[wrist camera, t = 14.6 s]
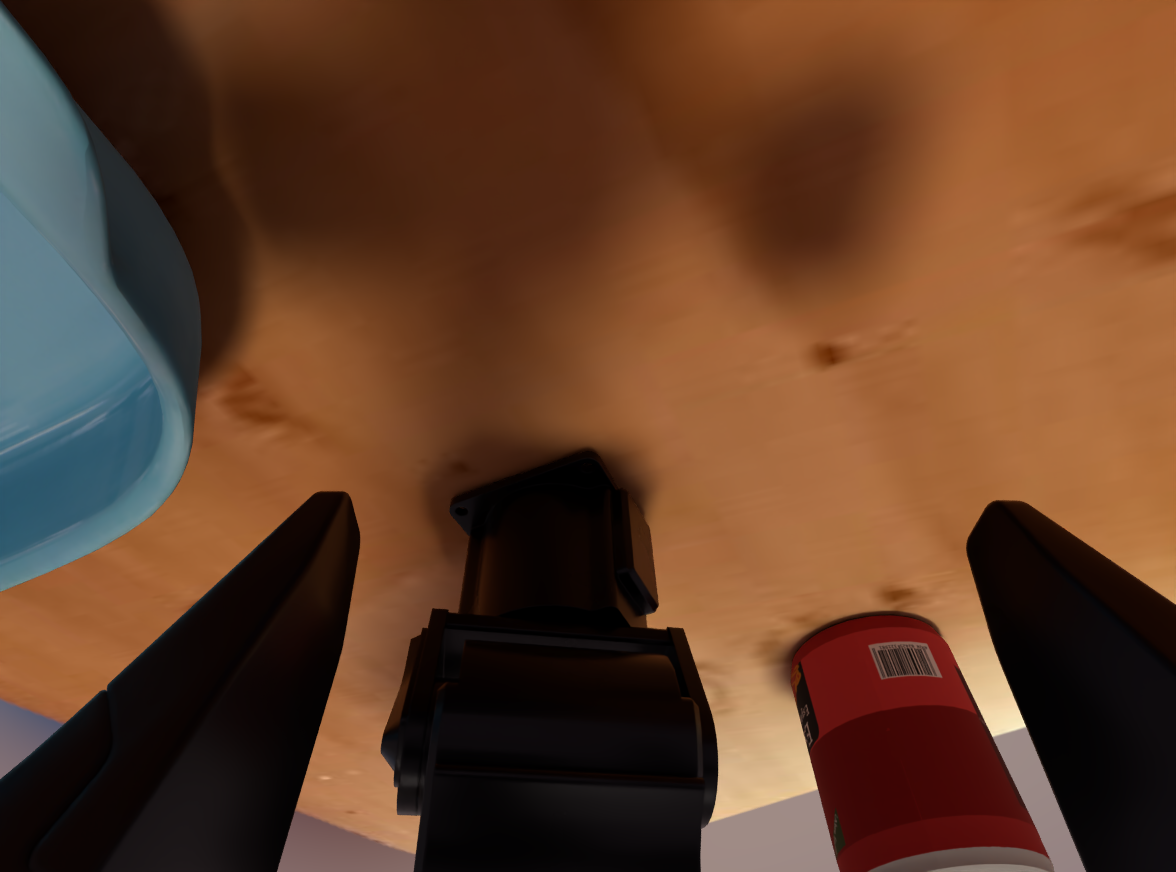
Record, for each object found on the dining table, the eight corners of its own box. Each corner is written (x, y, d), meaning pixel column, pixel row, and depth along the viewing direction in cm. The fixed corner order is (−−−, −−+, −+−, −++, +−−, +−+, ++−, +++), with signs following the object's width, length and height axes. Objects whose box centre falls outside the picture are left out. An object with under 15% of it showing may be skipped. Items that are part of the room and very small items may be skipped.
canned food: (758, 653, 36) (816, 901, 27) (905, 589, 32) (1022, 848, 24) (829, 708, 39) (899, 940, 31) (967, 656, 36) (1087, 899, 28)
